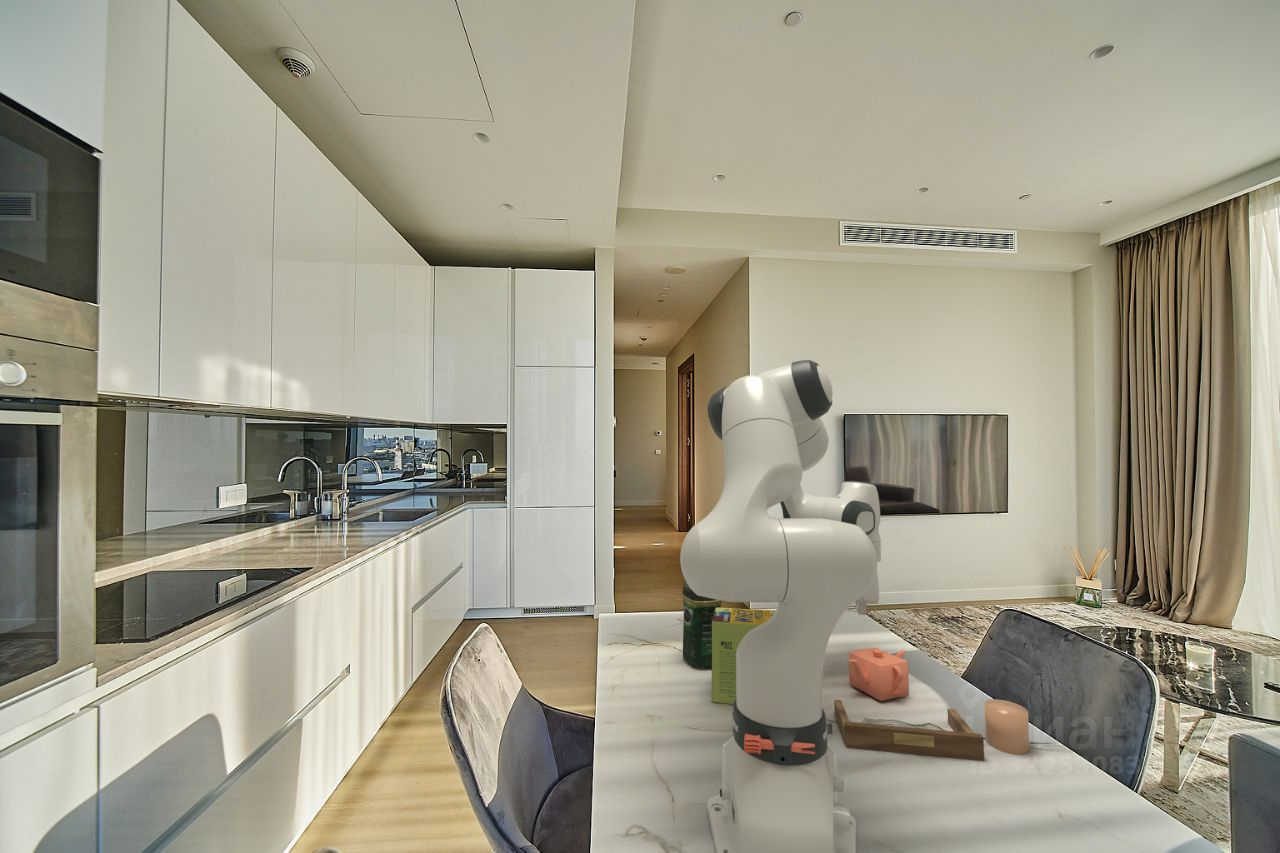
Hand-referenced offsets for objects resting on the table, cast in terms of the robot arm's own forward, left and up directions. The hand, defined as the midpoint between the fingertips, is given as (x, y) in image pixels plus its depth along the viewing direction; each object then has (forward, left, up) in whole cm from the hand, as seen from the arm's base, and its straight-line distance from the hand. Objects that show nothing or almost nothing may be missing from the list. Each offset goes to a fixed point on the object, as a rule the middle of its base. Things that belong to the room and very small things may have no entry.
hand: (860, 613), depth 124 cm
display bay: (-31, 0, -12) cm, 33 cm away
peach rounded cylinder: (-31, -16, -12) cm, 37 cm away
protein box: (-20, +25, -12) cm, 34 cm away
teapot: (-14, 0, -12) cm, 19 cm away
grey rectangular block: (-33, +16, -12) cm, 39 cm away
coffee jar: (-5, +36, -12) cm, 38 cm away
